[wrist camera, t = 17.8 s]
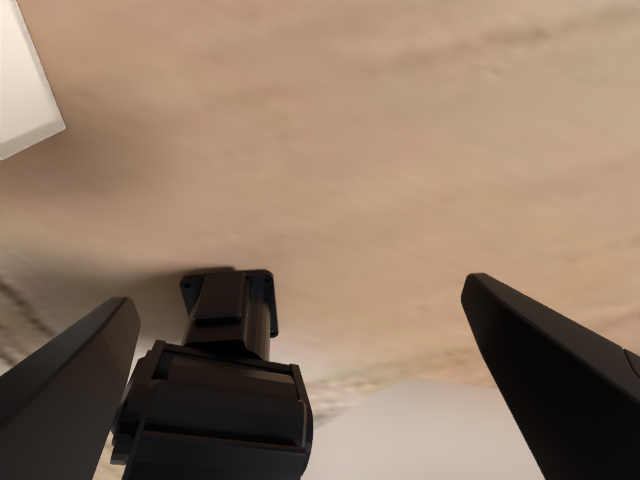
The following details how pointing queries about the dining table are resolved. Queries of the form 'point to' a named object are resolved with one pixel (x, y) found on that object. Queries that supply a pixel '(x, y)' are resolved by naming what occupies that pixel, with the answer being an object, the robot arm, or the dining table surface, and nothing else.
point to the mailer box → (22, 88)
